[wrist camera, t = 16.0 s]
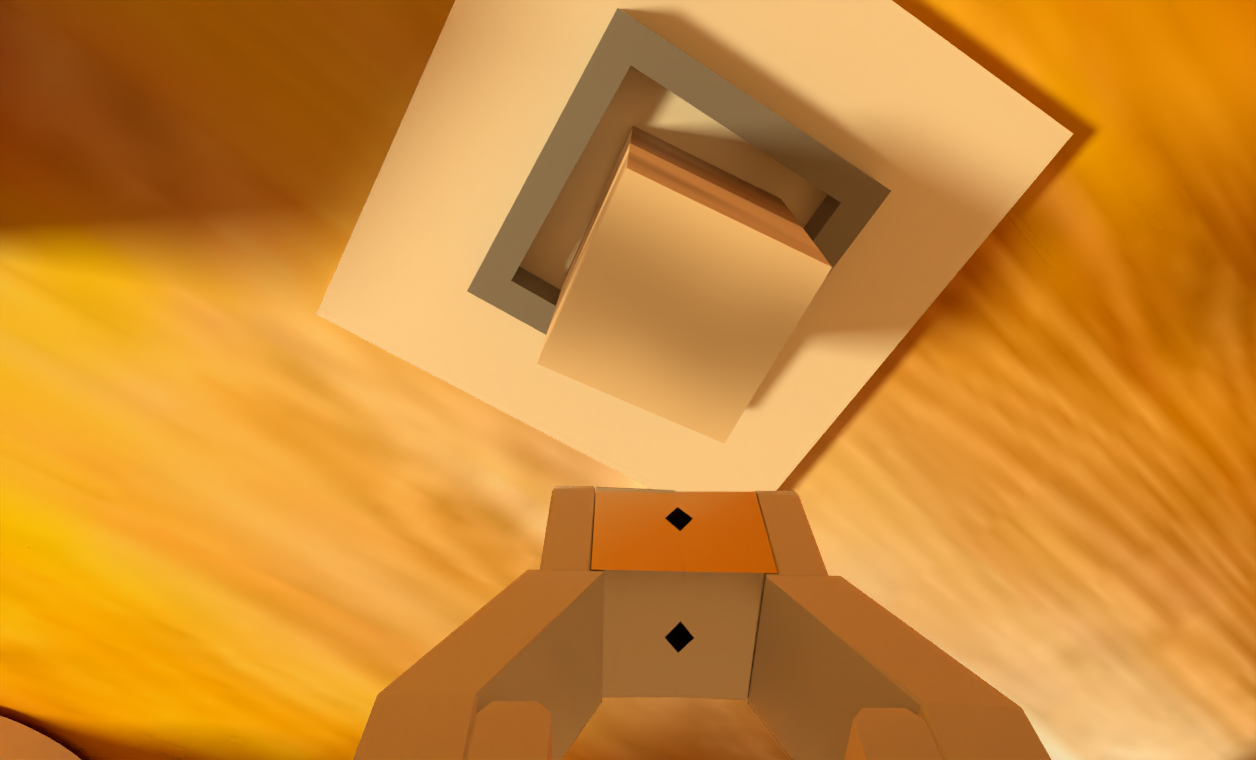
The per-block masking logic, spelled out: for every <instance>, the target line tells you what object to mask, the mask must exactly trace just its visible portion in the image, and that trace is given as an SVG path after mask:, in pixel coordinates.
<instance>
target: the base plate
mask: <svg viewBox="0 0 1256 760" xmlns="http://www.w3.org/2000/svg"><path fill="white" fill-rule="evenodd" d="M632 126H635V127H637V128H639V129H641V130H643V131H645V132H647V133H649V134H651V135H653V136H655V137H657V138H659V139H661V140H663V141H665V142H667V143H669V144H671V145H673V146H675V147H677V148H679V149H681V150H683V151H685V152H687V153H689V154H691V155H693V156H695V157H697V158H699V159H701V160H703V161H705V162H707V163H709V164H711V165H714V166H716V167H718V168H720V169H722V170H724V171H726V172H728V173H730V174H732V175H734V176H736V177H738V178H740V179H742V180H744V181H746V182H748V183H750V184H752V185H754V186H756V187H758V188H760V189H762V190H764V191H766V192H768V193H770V194H772V195H774V196H776V197H778V198H780V199H782V201H783V202H784V203H785V205H786V206H787V207H788V209H789V210H790V211H791V213H792V214H793V215H794V217H795V218H796V219H797V221H798V222H799V224H800V225H801V226H802V228H803V229H804V230H805V232H806V233H807V234H808V236H809V237H810V238H811V240H812V241H813V242H814V244H815V245H816V246H817V248H818V249H819V250H820V252H821V253H822V254H823V256H824V257H825V258H826V260H827V261H828V262H829V264H830V265H831V266H832V268H831V270H830V271H829V273H828V275H827V276H826V278H825V280H824V281H823V283H822V285H821V286H820V288H819V289H818V291H817V293H816V294H815V296H814V298H813V299H812V301H811V303H810V304H809V306H808V307H807V309H806V311H805V312H804V314H803V316H802V317H801V319H800V321H799V322H798V324H797V325H796V327H795V329H794V330H793V332H792V334H791V335H790V337H789V339H788V340H787V342H786V343H785V345H784V347H783V348H782V350H781V352H780V353H779V355H778V357H777V358H776V360H775V361H774V363H773V365H772V366H771V368H770V370H769V371H768V373H767V375H766V376H765V378H764V379H763V381H762V383H761V384H760V386H759V388H758V389H757V391H756V393H755V394H754V396H753V397H752V399H751V401H750V402H749V404H748V406H747V407H746V409H745V411H744V412H743V414H742V415H741V417H740V419H739V420H738V422H737V424H736V425H735V427H734V429H733V430H732V432H731V433H730V435H729V437H728V438H727V440H726V442H725V443H722V442H719V441H717V440H715V439H712V438H710V437H708V436H705V435H703V434H700V433H698V432H696V431H693V430H691V429H689V428H686V427H684V426H682V425H679V424H677V423H675V422H672V421H670V420H668V419H665V418H663V417H661V416H658V415H656V414H654V413H651V412H649V411H647V410H644V409H642V408H639V407H637V406H635V405H632V404H630V403H628V402H625V401H623V400H621V399H618V398H616V397H614V396H611V395H609V394H607V393H604V392H602V391H600V390H597V389H595V388H593V387H590V386H588V385H586V384H583V383H581V382H578V381H576V380H574V379H571V378H569V377H567V376H564V375H562V374H560V373H557V372H555V371H553V370H550V369H548V368H546V367H543V366H541V365H539V364H537V363H538V360H539V357H540V353H541V350H542V347H543V344H544V341H545V338H546V335H547V332H548V329H549V326H550V323H551V320H552V316H553V313H554V310H555V307H556V304H557V301H558V298H559V295H560V292H561V289H562V286H563V283H564V279H565V276H566V273H567V271H568V269H569V267H570V264H571V262H572V260H573V258H574V255H575V253H576V251H577V249H578V247H579V244H580V242H581V240H582V238H583V235H584V233H585V231H586V229H587V227H588V224H589V222H590V220H591V218H592V215H593V213H594V211H595V209H596V206H597V204H598V202H599V200H600V198H601V195H602V193H603V191H604V189H605V186H606V184H607V182H608V180H609V177H610V175H611V173H612V171H613V169H614V166H615V164H616V162H617V160H618V157H619V155H620V153H621V151H622V148H623V146H624V144H625V142H626V140H627V137H628V135H629V133H630V131H631V128H632ZM1072 135H1073V133H1072V132H1070V131H1069V130H1068V129H1066V128H1065V127H1063V126H1062V125H1061V124H1059V123H1058V122H1057V121H1055V120H1054V119H1053V118H1051V117H1050V116H1049V115H1047V114H1046V113H1044V112H1043V111H1042V110H1040V109H1039V108H1038V107H1036V106H1035V105H1034V104H1032V103H1031V102H1030V101H1028V100H1027V99H1025V98H1024V97H1023V96H1021V95H1020V94H1019V93H1017V92H1016V91H1015V90H1013V89H1012V88H1010V87H1009V86H1008V85H1006V84H1005V83H1004V82H1002V81H1001V80H1000V79H998V78H997V77H996V76H994V75H993V74H991V73H990V72H989V71H987V70H986V69H985V68H983V67H982V66H981V65H979V64H978V63H977V62H975V61H974V60H972V59H971V58H970V57H968V56H967V55H966V54H964V53H963V52H962V51H960V50H959V49H957V48H956V47H955V46H953V45H952V44H951V43H949V42H948V41H947V40H945V39H944V38H943V37H941V36H940V35H938V34H937V33H936V32H934V31H933V30H932V29H930V28H929V27H928V26H926V25H925V24H924V23H922V22H921V21H919V20H918V19H917V18H915V17H914V16H913V15H911V14H910V13H909V12H907V11H906V10H904V9H903V8H902V7H900V6H899V5H898V4H896V3H895V2H894V1H892V0H455V2H454V4H453V7H452V9H451V11H450V13H449V16H448V18H447V20H446V22H445V25H444V27H443V29H442V31H441V34H440V36H439V38H438V40H437V43H436V45H435V47H434V49H433V52H432V54H431V56H430V59H429V61H428V63H427V65H426V68H425V70H424V72H423V74H422V77H421V79H420V81H419V83H418V86H417V88H416V90H415V92H414V95H413V97H412V99H411V101H410V104H409V106H408V108H407V110H406V113H405V115H404V117H403V120H402V122H401V124H400V126H399V129H398V131H397V133H396V135H395V138H394V140H393V142H392V144H391V147H390V149H389V151H388V153H387V156H386V158H385V160H384V162H383V165H382V167H381V169H380V171H379V174H378V176H377V178H376V180H375V183H374V185H373V187H372V190H371V192H370V194H369V196H368V199H367V201H366V203H365V205H364V208H363V210H362V212H361V214H360V217H359V219H358V221H357V223H356V226H355V228H354V230H353V232H352V235H351V237H350V239H349V241H348V244H347V246H346V248H345V251H344V253H343V255H342V257H341V260H340V262H339V264H338V266H337V269H336V271H335V273H334V275H333V278H332V280H331V282H330V284H329V287H328V289H327V291H326V293H325V296H324V298H323V300H322V302H321V305H320V307H319V309H318V312H317V314H316V315H318V316H320V317H322V318H324V319H326V320H328V321H330V322H332V323H334V324H336V325H337V326H339V327H341V328H343V329H345V330H347V331H349V332H351V333H353V334H355V335H357V336H359V337H360V338H362V339H364V340H366V341H368V342H370V343H372V344H374V345H376V346H378V347H380V348H382V349H384V350H385V351H387V352H389V353H391V354H393V355H395V356H397V357H399V358H401V359H403V360H405V361H407V362H408V363H410V364H412V365H414V366H416V367H418V368H420V369H422V370H424V371H426V372H428V373H430V374H432V375H433V376H435V377H437V378H439V379H441V380H443V381H445V382H447V383H449V384H451V385H453V386H455V387H456V388H458V389H460V390H462V391H464V392H466V393H468V394H470V395H472V396H474V397H476V398H478V399H479V400H481V401H483V402H485V403H487V404H489V405H491V406H493V407H495V408H497V409H499V410H501V411H503V412H504V413H506V414H508V415H510V416H512V417H514V418H516V419H518V420H520V421H522V422H524V423H526V424H527V425H529V426H531V427H533V428H535V429H537V430H539V431H541V432H543V433H545V434H547V435H549V436H551V437H552V438H554V439H556V440H558V441H560V442H562V443H564V444H566V445H568V446H570V447H572V448H574V449H575V450H577V451H579V452H581V453H583V454H585V455H587V456H589V457H591V458H593V459H595V460H597V461H598V462H600V463H602V464H604V465H606V466H608V467H610V468H612V469H614V470H616V471H618V472H620V473H622V474H623V475H625V476H627V477H629V478H631V479H633V480H635V481H637V482H639V483H641V484H643V485H645V486H646V487H648V488H650V489H658V490H675V491H721V492H754V491H776V490H777V489H778V488H779V487H780V486H781V484H782V483H783V482H784V481H785V479H786V478H787V477H788V476H789V475H790V473H791V472H792V471H793V470H794V469H795V467H796V466H797V465H798V464H799V463H800V461H801V460H802V459H803V458H804V457H805V455H806V454H807V453H808V452H809V451H810V449H811V448H812V447H813V446H814V445H815V443H816V442H817V441H818V440H819V439H820V437H821V436H822V435H823V434H824V433H825V431H826V430H827V429H828V428H829V427H830V425H831V424H832V423H833V422H834V421H835V419H836V418H837V417H838V416H839V415H840V413H841V412H842V411H843V410H844V409H845V407H846V406H847V405H848V404H849V403H850V401H851V400H852V399H853V398H854V397H855V395H856V394H857V393H858V392H859V391H860V389H861V388H862V387H863V386H864V385H865V383H866V382H867V381H868V380H869V379H870V377H871V376H872V375H873V374H874V373H875V371H876V370H877V369H878V368H879V367H880V365H881V364H882V363H883V362H884V361H885V359H886V358H887V357H888V356H889V355H890V353H891V352H892V351H893V350H894V349H895V347H896V346H897V345H898V344H899V343H900V341H901V340H902V339H903V338H904V337H905V335H906V334H907V333H908V332H909V331H910V329H911V328H912V327H913V326H914V325H915V323H916V322H917V321H918V320H919V319H920V317H921V316H922V315H923V314H924V313H925V311H926V310H927V309H928V308H929V307H930V305H931V304H932V303H933V302H934V301H935V299H936V298H937V297H938V296H939V295H940V293H941V292H942V291H943V290H944V289H945V287H946V286H947V285H948V284H949V283H950V281H951V280H952V279H953V278H954V277H955V275H956V274H957V273H958V272H959V271H960V269H961V268H962V267H963V266H964V265H965V263H966V262H967V261H968V260H969V259H970V257H971V256H972V255H973V254H974V252H975V251H976V250H977V249H978V248H979V246H980V245H981V244H982V243H983V242H984V240H985V239H986V238H987V237H988V236H989V234H990V233H991V232H992V231H993V230H994V228H995V227H996V226H997V225H998V224H999V222H1000V221H1001V220H1002V219H1003V218H1004V216H1005V215H1006V214H1007V213H1008V212H1009V210H1010V209H1011V208H1012V207H1013V206H1014V204H1015V203H1016V202H1017V201H1018V200H1019V198H1020V197H1021V196H1022V195H1023V194H1024V192H1025V191H1026V190H1027V189H1028V188H1029V186H1030V185H1031V184H1032V183H1033V182H1034V180H1035V179H1036V178H1037V177H1038V176H1039V174H1040V173H1041V172H1042V171H1043V170H1044V168H1045V167H1046V166H1047V165H1048V164H1049V162H1050V161H1051V160H1052V159H1053V158H1054V156H1055V155H1056V154H1057V153H1058V152H1059V150H1060V149H1061V148H1062V147H1063V146H1064V144H1065V143H1066V142H1067V141H1068V140H1069V138H1070V137H1071V136H1072Z"/></svg>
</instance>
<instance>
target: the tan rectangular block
mask: <svg viewBox="0 0 1256 760" xmlns="http://www.w3.org/2000/svg"><path fill="white" fill-rule="evenodd" d="M831 268H832V266H831V265H830V264H829V262H828V261H827V260H826V258H825V257H824V256H823V254H822V253H821V252H820V250H819V249H818V248H817V246H816V245H815V244H814V242H813V241H812V240H811V238H810V237H809V236H808V234H807V233H806V232H805V230H804V229H803V228H802V226H801V225H800V224H799V222H798V221H797V219H796V218H795V217H794V215H793V214H792V213H791V211H790V210H789V209H788V207H787V206H786V205H785V203H784V202H783V201H782V199H780V198H778V197H776V196H774V195H772V194H770V193H768V192H766V191H764V190H762V189H760V188H758V187H756V186H754V185H752V184H750V183H748V182H746V181H744V180H742V179H740V178H738V177H736V176H734V175H732V174H730V173H728V172H726V171H724V170H722V169H720V168H718V167H716V166H714V165H711V164H709V163H707V162H705V161H703V160H701V159H699V158H697V157H695V156H693V155H691V154H689V153H687V152H685V151H683V150H681V149H679V148H677V147H675V146H673V145H671V144H669V143H667V142H665V141H663V140H661V139H659V138H657V137H655V136H653V135H651V134H649V133H647V132H645V131H643V130H641V129H639V128H637V127H635V126H632V128H631V131H630V133H629V135H628V137H627V140H626V142H625V144H624V146H623V148H622V151H621V153H620V155H619V157H618V160H617V162H616V164H615V166H614V169H613V171H612V173H611V175H610V177H609V180H608V182H607V184H606V186H605V189H604V191H603V193H602V195H601V198H600V200H599V202H598V204H597V206H596V209H595V211H594V213H593V215H592V218H591V220H590V222H589V224H588V227H587V229H586V231H585V233H584V235H583V238H582V240H581V242H580V244H579V247H578V249H577V251H576V253H575V255H574V258H573V260H572V262H571V264H570V267H569V269H568V271H567V273H566V276H565V279H564V283H563V286H562V289H561V292H560V295H559V298H558V301H557V304H556V307H555V310H554V313H553V316H552V320H551V323H550V326H549V329H548V332H547V335H546V338H545V341H544V344H543V347H542V350H541V353H540V357H539V360H538V363H537V364H539V365H541V366H543V367H546V368H548V369H550V370H553V371H555V372H557V373H560V374H562V375H564V376H567V377H569V378H571V379H574V380H576V381H578V382H581V383H583V384H586V385H588V386H590V387H593V388H595V389H597V390H600V391H602V392H604V393H607V394H609V395H611V396H614V397H616V398H618V399H621V400H623V401H625V402H628V403H630V404H632V405H635V406H637V407H639V408H642V409H644V410H647V411H649V412H651V413H654V414H656V415H658V416H661V417H663V418H665V419H668V420H670V421H672V422H675V423H677V424H679V425H682V426H684V427H686V428H689V429H691V430H693V431H696V432H698V433H700V434H703V435H705V436H708V437H710V438H712V439H715V440H717V441H719V442H722V443H725V442H726V440H727V438H728V437H729V435H730V433H731V432H732V430H733V429H734V427H735V425H736V424H737V422H738V420H739V419H740V417H741V415H742V414H743V412H744V411H745V409H746V407H747V406H748V404H749V402H750V401H751V399H752V397H753V396H754V394H755V393H756V391H757V389H758V388H759V386H760V384H761V383H762V381H763V379H764V378H765V376H766V375H767V373H768V371H769V370H770V368H771V366H772V365H773V363H774V361H775V360H776V358H777V357H778V355H779V353H780V352H781V350H782V348H783V347H784V345H785V343H786V342H787V340H788V339H789V337H790V335H791V334H792V332H793V330H794V329H795V327H796V325H797V324H798V322H799V321H800V319H801V317H802V316H803V314H804V312H805V311H806V309H807V307H808V306H809V304H810V303H811V301H812V299H813V298H814V296H815V294H816V293H817V291H818V289H819V288H820V286H821V285H822V283H823V281H824V280H825V278H826V276H827V275H828V273H829V271H830V270H831Z"/></svg>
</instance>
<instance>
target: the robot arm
mask: <svg viewBox="0 0 1256 760" xmlns="http://www.w3.org/2000/svg"><path fill="white" fill-rule="evenodd" d="M602 697H690V698H712V699H733V700H748V704H749V705H750V707H751V708H752V709H753V711H754V712H755V713H756V714H757V716H758V717H759V718H760V719H761V721H762V722H763V723H764V724H765V726H766V727H767V728H768V729H769V731H770V732H771V733H772V734H773V736H774V737H775V738H776V739H777V741H778V742H779V743H780V745H781V746H782V747H783V748H784V750H785V751H786V752H787V753H788V755H789V756H790V757H791V758H792V760H1051V758H1050V757H1049V755H1048V753H1047V751H1046V750H1045V748H1044V746H1043V744H1042V743H1041V741H1040V739H1039V737H1038V736H1037V734H1036V732H1035V730H1034V729H1033V727H1032V725H1031V723H1030V722H1029V720H1028V718H1027V716H1026V715H1025V713H1024V711H1023V709H1022V708H1021V707H1020V706H1018V705H1017V704H1015V703H1014V702H1013V701H1011V700H1010V699H1009V698H1007V697H1006V696H1004V695H1003V694H1002V693H1000V692H999V691H998V690H996V689H995V688H994V687H992V686H991V685H989V684H988V683H987V682H985V681H984V680H983V679H981V678H980V677H978V676H977V675H976V674H974V673H973V672H972V671H970V670H969V669H967V668H966V667H965V666H963V665H962V664H961V663H959V662H958V661H956V660H955V659H954V658H952V657H951V656H950V655H948V654H947V653H945V652H944V651H943V650H941V649H940V648H939V647H937V646H936V645H934V644H933V643H932V642H930V641H929V640H928V639H926V638H925V637H923V636H922V635H921V634H919V633H918V632H917V631H915V630H914V629H912V628H911V627H910V626H908V625H907V624H906V623H904V622H903V621H902V620H900V619H899V618H897V617H896V616H895V615H893V614H892V613H891V612H889V611H888V610H886V609H885V608H884V607H882V606H881V605H880V604H878V603H877V602H875V601H874V600H873V599H871V598H870V597H869V596H867V595H866V594H864V593H863V592H862V591H860V590H859V589H858V588H856V587H855V586H853V585H852V584H851V583H849V582H848V581H847V580H845V579H844V578H842V577H841V576H828V573H827V571H826V568H825V565H824V562H823V560H822V557H821V554H820V552H819V549H818V546H817V544H816V541H815V538H814V536H813V533H812V530H811V527H810V525H809V522H808V519H807V517H806V514H805V511H804V509H803V506H802V503H801V500H800V498H799V495H798V494H797V493H796V492H794V491H754V492H721V491H675V490H658V489H635V488H611V487H596V492H595V488H594V487H592V486H555V488H554V490H553V491H552V496H551V503H550V509H549V515H548V522H547V528H546V534H545V540H544V547H543V553H542V559H541V566H540V570H527V571H526V572H524V573H523V574H522V575H521V576H520V577H518V578H517V579H516V580H515V581H514V582H512V583H511V584H510V585H509V586H508V587H506V588H505V589H504V590H503V591H502V592H500V593H499V594H498V595H497V596H496V597H494V598H493V599H492V600H491V601H490V602H488V603H487V604H486V605H485V606H484V607H482V608H481V609H480V610H479V611H478V612H476V613H475V614H474V615H473V616H472V617H470V618H469V619H468V620H467V621H466V622H464V623H463V624H462V625H461V626H460V627H458V628H457V629H456V630H455V631H454V632H452V633H451V634H450V635H449V636H448V637H446V638H445V639H444V640H443V641H441V642H440V643H439V644H438V645H437V646H435V647H434V648H433V649H432V650H431V651H429V652H428V653H427V654H426V655H425V656H423V657H422V658H421V659H420V660H419V661H417V662H416V663H415V664H414V665H413V666H411V667H410V668H409V669H408V670H407V671H405V672H404V673H403V674H402V675H401V676H399V677H398V678H397V679H396V680H395V681H393V682H392V683H391V684H390V685H389V686H387V687H386V688H385V689H384V690H383V691H381V692H380V693H379V694H378V695H377V698H376V700H375V703H374V706H373V708H372V711H371V714H370V716H369V719H368V722H367V724H366V727H365V730H364V732H363V735H362V738H361V740H360V743H359V746H358V748H357V751H356V754H355V756H354V759H353V760H562V758H563V757H564V755H565V754H566V752H567V751H568V750H569V748H570V747H571V745H572V744H573V742H574V741H575V739H576V738H577V737H578V735H579V734H580V732H581V731H582V729H583V728H584V727H585V725H586V724H587V722H588V721H589V719H590V718H591V717H592V715H593V714H594V712H595V711H596V709H597V708H598V706H599V705H600V704H601V702H602ZM0 760H81V759H80V758H79V757H77V756H76V755H75V754H73V753H72V752H71V751H69V750H68V749H66V748H65V747H63V746H62V745H60V744H59V743H57V742H55V741H54V740H52V739H50V738H49V737H47V736H45V735H43V734H41V733H39V732H38V731H35V730H33V729H31V728H29V727H27V726H25V725H23V724H20V723H18V722H16V721H13V720H11V719H8V718H5V717H3V716H0Z"/></svg>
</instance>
